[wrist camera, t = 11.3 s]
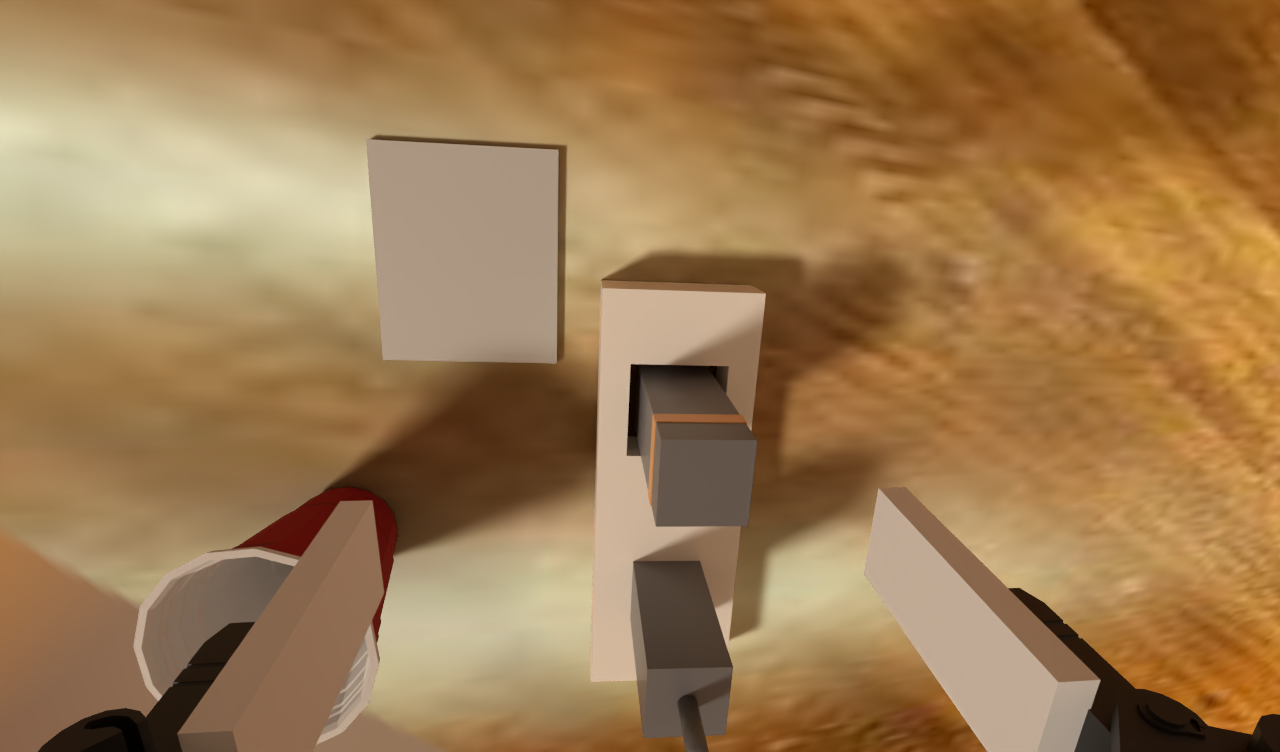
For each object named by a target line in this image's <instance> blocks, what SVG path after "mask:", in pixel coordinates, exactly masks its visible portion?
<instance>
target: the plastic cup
mask: <svg viewBox="0 0 1280 752" xmlns="http://www.w3.org/2000/svg"><path fill="white" fill-rule="evenodd" d="M369 500H373V508H374V516H375V524H376V532H377V540H378V548H379V556H380V563H381V571H382V579H383V587H384V595H383V597H382V599H381V601H380V604H379V606H378V608H377V610H376V613H375V615H374V617H373V619H372V621H371V624H370V626H369V628H368V630H367V633H366V635H365V637H364V639H363V641H362V644H361V646H360V648H359V650H358V653H357V655H356V657H355V659H354V662H353V664H352V666H351V668H350V670H349V673H348V675H347V677H346V679H345V682H344V684H343V686H342V688H341V690H340V693H339V695H338V697H337V699H336V702H335V704H334V706H333V708H332V711H331V713H330V715H329V717H328V719H327V722H326V724H325V726H324V728H323V731H322V733H321V735H320V737H319V739H318V742H317V744H319V743H321V742H323V741H325V740H327V739H330V738H332V737H334V736H336V735H338V734H340V733H342V732H343V731H344V730H345V729H346V728H347V727H348V726H349V725H350V723H351V722H352V721H353V720H354V719H355V718H356V717H357V715H358V714H359V713H360V712H361V711H362V710H363V709H364V708H365V706H366V705H367V704H368V703H369V700H370V697H371V693H372V689H373V685H374V682H375V678H376V674H377V670H378V667H379V661H380V657H379V652H378V647H377V641H378V637H379V635H378V632H379V628H380V624H381V619H380V617H381V613H382V608H383V604H384V600H385V596H386V591H387V587H388V583H389V579H390V574H391V570H392V566H393V562H394V559H393V554H394V550H395V545H396V541H397V537H398V534H397V525H396V521H395V516H394V514H393V512H392V511H391V509H390V508H389V507H388V505H387V504H386V503H385V501H384V500H382V499H381V498H379V497H377V496H376V495H374V494H373V493H371V492H370V491H367V490H363V489H358V488H354V487H343V488H334V489H331V490H329V491H326V492H324V493H322V494H320V495H318V496H316V497H314V498H312V499H310V500H309V501H307V502H306V503H304V504H303V505H302V506H300V507H299V508H297V509H296V510H295V511H293V512H291V513H289V514H287V515H285V516H283V517H282V518H280V519H279V520H277V521H275V522H274V523H272V524H271V525H269V526H268V527H266V528H265V529H263V530H262V531H260V532H259V533H257V534H256V535H254V536H253V537H251V538H250V539H248V540H246V541H245V542H243V543H242V544H240V545H239V546H236V547H234V548H232V549H227V550H216V551H211V552H208V553H205V554H203V555H201V556H199V557H197V558H195V559H193V560H191V561H189V562H187V563H186V564H184V565H182V566H180V567H178V568H176V569H174V570H172V571H170V572H168V573H166V574H165V575H164V576H163V578H162V579H161V580H160V581H159V583H158V584H157V585H156V587H155V588H154V589H153V591H152V592H151V593H150V595H149V596H148V597H147V598H146V600H145V601H144V602H143V604H142V605H141V606H140V610H139V616H138V622H137V628H136V635H135V641H134V650H135V653H136V656H137V660H138V663H139V666H140V669H141V672H142V676H143V679H144V682H145V685H146V687H147V688H148V690H149V691H150V692H151V693H152V694H153V696H154V697H155V698H156V699H157V700H158V701H159V700H160V699H161V697H162V696H163V695H164V693H165V692H166V691H167V690H168V688H169V687H172V686H173V682H174V681H175V679H176V678H177V677H178V675H179V674H180V673H181V672H182V670H183V669H185V668H187V664H188V663H189V661H190V660H191V659H192V657H193V656H194V655H195V654H196V652H197V651H198V650H199V648H200V647H201V646H202V645H203V643H204V642H205V641H207V640H208V639H209V638H211V637H212V636H213V635H215V634H216V633H217V632H219V631H220V630H221V629H223V628H224V627H225V626H227V625H228V624H229V623H240V622H256V621H257V619H258V618H259V616H260V615H261V614H262V612H263V611H264V609H265V608H266V607H267V605H268V604H269V602H270V601H271V599H272V598H273V597H274V595H275V594H276V592H277V591H278V589H279V588H280V587H281V585H282V584H283V582H284V581H285V579H286V578H287V577H288V575H289V574H290V572H291V571H292V569H293V568H294V567H295V565H296V564H297V562H298V561H299V559H300V558H301V557H302V555H303V554H304V552H305V551H306V549H307V548H308V547H309V545H310V544H311V542H312V541H313V539H314V538H315V537H316V535H317V534H318V532H319V531H320V529H321V528H322V527H323V525H324V524H325V522H326V521H327V519H328V518H329V517H330V515H331V514H332V512H333V511H334V509H335V508H336V507H337V505H338V504H339V502H340V501H369ZM317 744H316V745H317Z"/></svg>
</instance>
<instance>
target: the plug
mask: <svg viewBox="0 0 1280 752" xmlns="http://www.w3.org/2000/svg"><path fill="white" fill-rule="evenodd" d="M635 431H636V436H637V440H638V445H639V450H640V455H641V459H642V464H643V469H644V473H645V478H646V483H647V488H648V498H649V503H650V506H652V511H653V516H654V520H655V525H656V527H702V526H748V522H749V513H750V504H751V495H752V485H753V476H754V467H755V458H756V449H757V439H756V437H755V436H754V435H753V433H752V432H751V430H750V429H749V427H748V426H747V422H746V420H745V419H744V417H743V416H742V415H740V414H739V413H738V411H737V410H736V408H735V407H734V405H733V404H732V402H731V401H730V399H729V398H728V396H727V395H726V393H725V392H724V391H723V389H722V388H721V386H720V385H719V383H718V382H717V380H716V379H715V377H714V376H713V374H712V373H711V371H710V370H709V369H708V367H707V366H696V365H650V364H638V366H637V387H636V408H635Z"/></svg>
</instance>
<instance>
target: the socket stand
mask: <svg viewBox="0 0 1280 752" xmlns="http://www.w3.org/2000/svg"><path fill="white" fill-rule="evenodd" d="M765 298H766V293H764V292H762V291H761V290H759V289H757V288H756V287H754V286H752V285H731V284H702V283H673V282H644V281H615V280H601V294H600V329H599V363H598V398H597V433H596V468H595V503H594V537H593V572H592V607H591V642H590V664H591V682H598V681H633V680H637V686H638V695H639V704H640V713H641V723H642V732H643V738H654V737H681V736H683V738H684V743H685V749H686V752H708V747H707V742H706V738H705V736H708V735H725V734H726V725H727V716H728V707H729V698H730V689H731V680H732V671H733V666H732V663H731V659H730V656H729V653H728V644H729V635H730V626H731V616H732V607H733V598H734V588H735V579H736V570H737V560H738V551H739V541H740V532H741V526H702V527H656V525H655V520H654V516H653V511H652V506H650V503H649V498H648V488H647V483H646V478H645V473H644V469H643V464H642V459H641V455H640V450H639V445H638V440H637V436H627V434H628V412H629V389H630V367H631V364H650V365H696V366H717V370H716V380H717V382H718V383H719V385H720V386H721V388H722V389H723V391H724V392H725V393H726V395H727V396H728V398H729V399H730V401H731V402H732V404H733V405H734V407H735V408H736V410H737V411H738V413H739V414H740V415H742V416H743V417H744V419H745V420H746V422H747V426H748V427H749V429H750V430H751V429H752V420H753V410H754V401H755V392H756V382H757V373H758V363H759V354H760V345H761V335H762V326H763V317H764V307H765Z"/></svg>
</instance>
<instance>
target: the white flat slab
mask: <svg viewBox="0 0 1280 752" xmlns="http://www.w3.org/2000/svg"><path fill="white" fill-rule="evenodd" d="M366 142H367V156H368V169H369V182H370V195H371V208H372V221H373V234H374V248H375V261H376V274H377V287H378V300H379V313H380V326H381V339H382V353H383V360H418V361H465V362H512V363H557V297H558V179H559V150H553V149H535V148H517V147H498V146H480V145H462V144H443V143H425V142H407V141H388V140H370V139H366Z"/></svg>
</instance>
